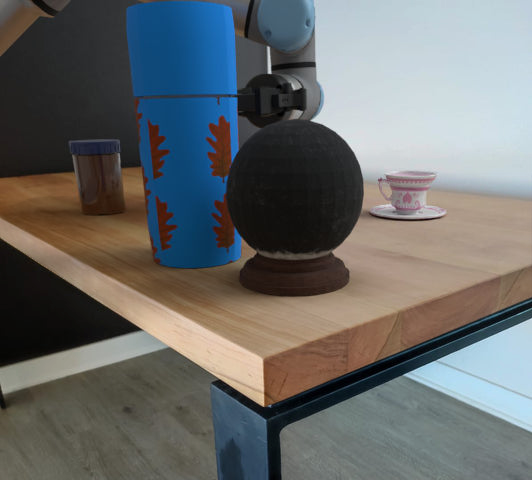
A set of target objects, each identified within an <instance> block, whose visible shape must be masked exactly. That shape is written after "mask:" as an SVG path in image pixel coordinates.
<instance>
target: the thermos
mask: <svg viewBox="0 0 532 480" xmlns="http://www.w3.org/2000/svg"><path fill="white" fill-rule="evenodd" d="M125 11H126V13H125V15H126V17H125V18H126V19H125V20H126V22H125V23H126V25H125V26H126V31H125V32H126V39H127V47H128V57H129V65H130V75H131V86H132V94H133V97H134V98H135V99H133V103H134V111H135V121H136V130H137V138H138V148H139V156H140V157H139V158H140V165H141V166H140V167H141V176H142V186H143V192H144V193H143V194H144V202H145V203H144V204H145V211H146V221H147V229H148V234H149V240H150V241H149V242H150V247H151V253H152V259H153V261H154V263H156V264H159V265H160V266H164V267H170V268H175V269H177V268H178V269H201V268H202V269H203V268H213V267H219V266H225V265H226V264H227V265H228V264H231V263H233V262H236V261H238V260H239V259H240V258H241V257H242V242H243V241H242V240H243V238H242V237H241V236H240V235H239V234H238V232H237V230H236V228H235V227H234V225H233V223H232V221H231V218H230V215H229V212H228V208H227V201H226V184H227V178H228V174H229V170H230V167H231V164H232V162H233V160H234V158H235V156H236V154H237V152H238V151H239V149H240V136H239V135H240V134H239V132H240V131H239V116H238V106H237V98H236V97H232V96H233V95H238V94H237V90H238V84H237V83H238V81H237V58H236V57H237V56H236V34H235V29H234V22H233V15H232V9H231V7H228V6H226V5H223V4H216V3H210V2H198V1H160V2H148V3H144V2H142V3H136V4H133V5H130V6H128V7H127V8H126V10H125ZM229 95H231V97H229Z"/></svg>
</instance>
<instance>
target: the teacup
mask: <svg viewBox="0 0 532 480" xmlns="http://www.w3.org/2000/svg"><path fill="white" fill-rule="evenodd" d="M439 175H440V173H439V172H436V171H430V170H429V171H428V170H393V171H385V172H383V176H384V177H385V178H382V177H380V178H378V179H377V181H378V189H379V192H380V194H381V195H382V196H383V198H384V199H385V200H386V201H388V202H390V203H389V204H387V203H386V204H379V205H375V206H372V207H370V208H369V213H370V214H371V215H373V216H377V217H382V218H388V219H393V220H394V219H396V220H425V219H426V220H427V219H434V218H439V217H443V216H445V215H446V214H447V210H446V209H445V208H442V207H440V206H436V205H429V204H427V193H428V191H429V189H430V188H431V184H432V183H433V182H434V181H435V180H436V179H437V177H438V176H439ZM383 183H387V184H388V185H389V188H390V190H391V195H390V197H388V196H387V195H386V194H385V192H384V190H383V187H382V184H383Z"/></svg>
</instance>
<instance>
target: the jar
mask: <svg viewBox="0 0 532 480" xmlns="http://www.w3.org/2000/svg"><path fill="white" fill-rule="evenodd" d="M120 154H121V152H116V153H104V154H72V162H73V168H74V174H75V180H76V186H77V187H76V188H77V192H78V193H77V194H78V200H79V206H80V212H81V214H82V215H86V216H100V215H99V214H110V215H112V214H111V213H117V214H119V213H118V212H122V213H124V212H126V211H127V204H126V195H125V186H124V178H123V170H122V163H121V155H120ZM125 210H126V211H125ZM123 211H124V212H123Z"/></svg>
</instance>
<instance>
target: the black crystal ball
mask: <svg viewBox="0 0 532 480" xmlns="http://www.w3.org/2000/svg"><path fill="white" fill-rule="evenodd" d="M362 172H363V171H362V167H361V165H360V162H359V160H358V158H357V155H356V154H355V152H354V151H353V149H352V148H351V146H350V145H349V143H348V142H347V141H346V140H345V139H344V138H343V137H342V136H341V135H340V134H338V132H337V131H335V130H333V129H331V128H330V127H328V126H326V125H324V124H323V123H319V122H316V121H314V120H313V121H312V120H311V121H309V120H301V119H290V120H282V121H279V122H276V123H273V124H270V125H267V126H265V127H264V128H259V130H257V131H255V132H254V133H253V134H252V135H251V136H250V137H249V138H248V139H246V140H245V141H244V143H243V144H242V145H241V147H239V151H238V152H237V154H236V156H235V158H234V160H233V162H232V164H231V167H230V170H229V174H228V178H227V184H226V201H227V208H228V212H229V215H230V218H231V221H232V223H233V225H234V227H235V228H236V230H237V232H238V234H239V235H240V236H241V237H242V240H243V241H244V242H245V243H246V244H247V245H248V247H249V248H251V249H252V250H254V251H255V252H256V253H255V254H254V255H253V256H252V257H250V258H249V259H247V260H246V261H245V262H244V264H243V267H242V268H241V269H240V270H239V274H238V275H239V283H240V285H241V286H243V287H244V288H245V289H248V290H250V291H254V292H257V293H260V294H266V295H270V296H281V297H282V296H283V297H284V296H285V297H306V296H317V295H322V294H327V293H331V292H336V291H338V290H341V289H342V288H344V287H346V286H347V285H348V284H349V283H350V269H349V268H348V267H346V263H345V262H344V261H343V259H341V258H339V257H338V256H336V255H335V254H334V253H333V251H334V250H336V249H338V247H340V246H341V245H342V244H343V243H344V242H345V241H346V240H347V239H348V237H349V236H350V235H351V233H352V232H353V230H354V228H355V226H356V225H357V223H358V221H359V218H360V215H361V213H362V210H363V203H364V197H365V196H364V195H365V189H364V177H363V173H362Z"/></svg>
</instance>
